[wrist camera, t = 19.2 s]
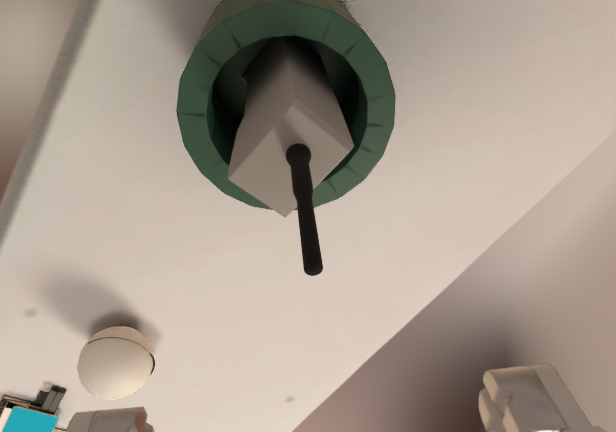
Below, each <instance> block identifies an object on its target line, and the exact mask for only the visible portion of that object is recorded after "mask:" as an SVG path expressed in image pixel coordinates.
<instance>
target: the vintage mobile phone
mask: <svg viewBox="0 0 616 432" xmlns="http://www.w3.org/2000/svg"><path fill="white" fill-rule="evenodd" d="M241 79H242V80H244V81H245V82H246V83H247V93H246V102H245V111H244V117H243V119H242V122H241V124H240V126H239V128H238V130H237V134H236V139H235V143H234V148H233V152H232V156H231V161H230V165H229V170H228V179H229V180H230V181H231V182H233V183H234V184H236V185H237V186H239V187H240V188H242V189H243V190H245V191H246V192H248V193H249V194H251V195H252V196H254V197H255V198H257V199H258V200H260V201H261V202H263V203H264V204H266V205H267V206H269V207H270V208H272V209H273V210H275V211H276V212H278V213H279V214H281V215H282V216H284V217H287V216H288V215H289V214H290V213H291V212H292V211H293V210H294V209H295V208H296V207H297V208H298V217H299V227H300V236H301V246H302V255H303V265H304V271H305V273H306V274H308V275H311V276H314V275H318V274H320V273H321V272H322V270H323V265H322V259H321V252H320V246H319V240H318V234H317V227H316V221H315V215H314V208H313V202H312V196H313V189H314V188H315V187H316V186H317V185H318V184H319V183H320V182H321V181H322V180H323V179H324V178H325V177H326V176H327V175H328V174H329V173H330V172H331V171H332V170H333V169H334V168H335V167H336V166H337V165H338V164H339V163H340V162H341V161H342V160H343V159H344V157H345V156H346V155H347V154H348V153H349V152H350V151H351V150H352V148H353V147H354V144H353V141H352V138H351V136H350V133H349V130H348V128H347V125H346V122H345V120H344V117H343V114H342V112H341V109H340V106H339V104H338V101H337V98H336V96H335V93H334V90H333V88H332V85H331V82H330V80H329V77H328V74H327V72H326V69H325V66H324V64H323V61H322V58H321V56H320V55H319V54H318V53H317V52H316V51H315V50H313V49H312V48H311V47H310V46H309V45H308V44H307V43H306V42H304V41H303V40H302V39H301V38H300V37H299V36H295V35H293V36H281V37H271V38H270V39H269V41H268V42H267V43H266V44H265V46H264V47H263V48H262V50H261V51H260V52H259V53H258V55H257V56H256V57H255V59H254V60H253V61H252V62H251V64H250V65H249V66H248V67H247V69H246V70H245V71H244V73H243V74H242V78H241Z"/></svg>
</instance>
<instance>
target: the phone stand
mask: <svg viewBox="0 0 616 432" xmlns="http://www.w3.org/2000/svg"><path fill="white" fill-rule="evenodd" d="M58 390H59V388H58V387H55V386H53V387H52V389H51V391H50V392H49V393H46V392H43V391H40V393H39V395H38V397H37V399H36V401H35V403H33V404H34V405H31V407H30V409H28V408H29V406H30V404H31V403H32V402H28V401H25V400H21V399H17V398H13V397H9V396H5V395H4V396H3V398H2V400H1V402H0V432H66V431H63V430H59V429H55V428H54V427H55V426H56V424H57V422H58V420H59V417H58V416H55V415H54V413H55V411H56V409H57V408H58V406H59V403H60V401H61V400H62V398H63V396H64V394H65V392H66V390H65V389H62V388H60V390H59V392H58ZM57 392H58V393H57ZM56 394H57V395H56ZM9 404H10V405H9ZM8 406H9V408H8Z"/></svg>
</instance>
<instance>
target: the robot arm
mask: <svg viewBox="0 0 616 432" xmlns="http://www.w3.org/2000/svg"><path fill="white" fill-rule="evenodd" d="M483 382H484V384H485V386H486V387H485V388H484V389H483V390H481V391H480V395H479V411H480V415H481V418H482V422H483V424H484V427H485V429H486V431H487V432H606V431H605V430H604V429H602V428H601V427H599V426H598V427H592V425H591V424H590V422H589V420H588V419H587V417H586V416H585V414H584V413H583V411H582V410H581V408H580V407H579V405H578V403H577V402H576V400H575V399H574V397H573V396H572V394H571V392H570V391H569V389H568V388H567V386H566V384H565V383H564V381H563V380H562V378H561V377H560V375H559V373H558V372H557V370H556V369H555V368H554V367H553V366H552V365H551V364H542V365H534V366H520V367H512V368H504V369H495V370H488V371H486V372H485V374H484V377H483ZM146 419H147V413H146V411H145V409H144V407H134V408H123V409H112V410H101V411H99V410H98V411H89V412H79V413H76V414H75V415H74V416H73V417H72V419H71V420H70V422H69V425H68V427H67V430H66V432H154V429H153V427H152V426H151V425H150V424H148V423H146Z"/></svg>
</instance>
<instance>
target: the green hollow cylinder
mask: <svg viewBox="0 0 616 432" xmlns="http://www.w3.org/2000/svg"><path fill="white" fill-rule="evenodd" d="M293 35H295V36H299V37H300V38H301V39H302V40H303V41H304V42H306V43H307V44H308V45H309V46H310V47H311V48H312V49H313V50H315V51H316V52H317V53H318V54H319V55H320V56H321V58H322V61H323V64H324V66H325V69H326V72H327V74H328V77H329V80H330V82H331V85H332V88H333V90H334V93H335V96H336V98H337V101H338V104H339V106H340V109H341V112H342V114H343V117H344V120H345V122H346V125H347V128H348V130H349V133H350V136H351V138H352V141H353V144H354V147H353V148H352V150H351V151H350V152H349V153H348V154H347V155H346V156H345V157H344V159H343V160H342V161H341V162H340V163H339V164H338V165H337V166H336V167H335V168H334V169H333V170H332V171H331V172H330V173H329V174H328V175H327V176H326V177H325V178H324V179H323V180H322V181H321V182H320V183H319V184H318V185H317V186H316V187H315V188H314V189H313V196H312V202H313V208H314V207H317V206H320V205H322V204H325V203H328V202H330V201H333V200H336V199H338V198H339V197H342V196H343V195H344V194H346V193H347V192H348V191H350V190H351V189H353V188H354V187H355V186H357V185H358V184H359V183H361V182H362V181H363V180H364V179H365V178H366V177H367V176H368V174H369V173H370V172H371V171H372V169H373V168H374V167H375V165H376V164H377V163H378V161H379V160H380V159H381V158H382V156H383V154H384V152H385V149H386V146H387V143H388V141H389V138H390V135H391V133H392V130H393V127H394V117H395V91H394V87H393V84H392V80H391V77H390V74H389V70H388V67H387V63H386V62H385V59H384V58H383V56H382V55H381V54H380V52H379V51H378V50H377V48H376V47H375V45H374V44H373V43H372V41H371V40H370V38H369V37H368V36H367V34H366V33H365V32H364V30H363V29H362V28H361V27H360V26H359V24H358V23H357V22H356V21H355V19H354V18H353V17H352V16H351V14H350V13H349V12H348V11H347V10H346V8H345V7H344V6H343V5H342V3H341V2H340V1H339V0H223V1H222V2H221V3H220V4H219V5H218V6H217V7H216V9H215V10H214V12H213V14H212V16H211V18H210V20H209V22H208V24H207V26H206V28H205V29H204V31H203V33H202V35H201V37H200V39H199V41H198V43H197V45H196V47H195V49H194V51H193V53H192V55H191V57H190V59H189V61H188V63H187V65H186V67H185V69H184V71H183V74H182V76H181V79H180V83H179V93H178V102H177V111H176V112H177V117H178V122H179V126H180V130H181V135H182V139H183V143H184V146H185V148H186V149H187V151H188V153H189V154H190V156H191V158H192V159H193V161H194V163H195V164H196V166H197V168H198V169H199V171H200V172H201V173H202V174H203V175H204V176H205V177H206V178H207V179H209V180H210V181H211V182H212V183H213V184H214V185H215V186H216V187H218V188H219V189H220V190H221V191H222V192H224V193H225V194H227V195H229V196H231V197H233V198H235V199H237V200H239V201H242V202H244V203H246V204H248V205H250V206H254V207H259V208H265V209H271V210H273V209H272V208H270V207H269V206H267V205H266V204H264V203H263V202H261V201H260V200H258V199H257V198H255V197H254V196H252V195H251V194H249V193H248V192H246V191H245V190H243V189H242V188H240V187H239V186H237V185H236V184H234V183H233V182H231V181H230V180H229V179H228V170H229V165H230V161H231V156H232V152H233V148H234V143H235V139H236V134H237V130H238V128H239V126H240V124H241V122H242V119H243V117H244V111H245V102H246V93H247V83H246V82H245V81H244V80H242V79H241V78H242V74H243V73H244V71H245V70H246V69H247V67H248V66H249V65H250V64H251V62H252V61H253V60H254V59H255V57H256V56H257V55H258V53H259V52H260V51H261V50H262V48H263V47H264V46H265V44H266V43H267V42H268V41H269V39H270V38H271V37H281V36H293ZM294 210H298V208H297V207H296V208H295V209H294Z"/></svg>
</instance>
